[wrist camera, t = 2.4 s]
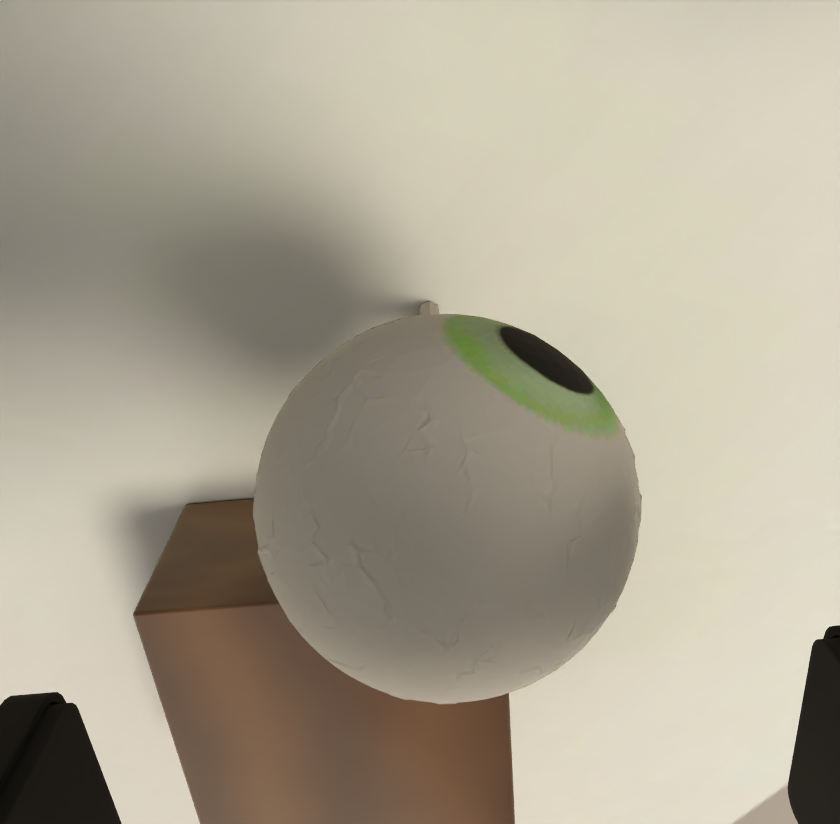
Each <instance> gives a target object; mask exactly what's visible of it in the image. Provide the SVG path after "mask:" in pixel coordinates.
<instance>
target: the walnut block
mask: <svg viewBox="0 0 840 824" xmlns="http://www.w3.org/2000/svg"><path fill="white" fill-rule="evenodd" d="M253 504H254V499H247V500H235V501H223V502H211V503H199V504H187V505H185V507H184V509H183V511H182V513H181V515H180V518H179V520H178V522H177V524H176V526H175V528H174V530H173V532H172V534H171V536H170V538H169V540H168V542H167V545H166V547H165V549H164V551H163V553H162V555H161V557H160V559H159V561H158V563H157V565H156V567H155V569H154V572H153V574H152V576H151V578H150V580H149V582H148V584H147V586H146V588H145V590H144V592H143V594H142V596H141V599H140V601H139V603H138V605H137V607H136V609H135V611H134V614H133V616H134V619H135V622H136V625H137V628H138V632H139V635H140V638H141V641H142V644H143V647H144V650H145V653H146V656H147V660H148V663H149V666H150V669H151V672H152V675H153V678H154V681H155V684H156V688H157V691H158V694H159V697H160V700H161V703H162V706H163V709H164V712H165V716H166V719H167V722H168V725H169V728H170V731H171V734H172V737H173V740H174V744H175V747H176V750H177V753H178V756H179V759H180V762H181V765H182V768H183V772H184V775H185V778H186V781H187V784H188V787H189V790H190V793H191V796H192V800H193V803H194V806H195V809H196V812H197V815H198V818H199V821H200V824H515V815H514V794H513V772H512V751H511V729H510V708H509V693H507V694H504V695H501V696H497V697H493V698H489V699H484V700H477V701H471V702H459V703H456V704H437V703H433V702H423V701H416V700H404V699H401V698H398V697H395V696H391V695H389V694H388V693H385V692H382V691H379V690H377V689H374V688H372V687H370V686H368V685H366V684H364V683H362V682H360V681H358V680H356V679H354V678H352V677H351V676H349V675H347V674H345V673H344V672H342V671H341V670H339V669H338V668H337V667H335V666H334V665H333V664H331V663H330V662H329V661H328V660H326V659H325V658H324V657H323V656H321V655H320V654H319V653H318V652H317V651H316V650H315V649H314V648H313V647H312V646H311V645H310V644H309V643H308V642H307V641H306V640H305V639H304V638H303V637H302V636H301V634H300V633H299V632H298V631H297V629H296V628H295V627H294V626H293V625H292V623H291V622H290V621H289V619H288V617H287V615H286V614H285V612H284V610H283V608H282V607H281V605H280V603H279V601H278V600H277V598H276V596H275V594H274V592H273V590H272V588H271V586H270V584H269V582H268V580H267V576H266V573H265V571H264V569H263V566H262V564H261V561H260V558H259V555H258V542H257V535H256V531H255V522H254V519H253Z"/></svg>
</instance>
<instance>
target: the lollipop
mask: <svg viewBox="0 0 840 824" xmlns="http://www.w3.org/2000/svg"><path fill="white" fill-rule="evenodd" d="M641 500H642V496H641V494H640V492H639V486H638V478H637V473H636V468H635V456H634V453H633V451H632V448H631V446H630V443H629V441H628V439H627V436H626V434H625V429H624V427H623V425H622V424H621V422H620V420H619V419H618V417H617V415H616V414H615V412H614V410H613V409H612V407H611V405H610V404H609V402H608V401H607V400H606V398H605V397H604V395H603V394H602V392H601V391H600V390H599V389H598V388H597V387H596V386H595V385H594V383H593V382H592V381H591V380H590V379H589V378H588V377H587V375H586V374H585V373H584V372H583V371H582V370H581V369H580V368H579V367H578V366H577V365H575V364H574V363H573V362H572V361H571V360H570V359H568V358H567V357H566V356H565V355H563V354H562V353H561V352H560V351H558V350H557V349H555V348H554V347H552V346H551V345H549V344H548V343H546V342H544V341H543V340H541V339H540V338H538V337H537V336H535V335H533V334H531V333H528V332H526V331H523V330H521V329H518V328H516V327H513V326H511V325H508V324H505V323H502V322H498V321H494V320H491V319H487V318H482V317H476V316H467V315H459V314H439V309H438V305H437V304H435V303H432V302H430V301H428V302H426V303H423V304H422V305H421V307H420V309H419V315H414V316H408V317H405V318H401V319H397V320H394V321H391V322H388V323H385V324H382V325H380V326H377V327H374V328H372V329H369V330H367V331H365V332H363V333H361V334H359V335H357V336H355V337H354V338H352V339H351V340H349V341H348V342H346V343H345V344H343V345H342V346H340V347H339V348H338V349H336V350H335V351H333V352H332V353H330V354H329V355H328V356H327V357H326V358H324V359H323V360H322V361H321V362H320V363H319V364H318V365H317V366H315V367H314V368H313V369H312V370H311V371H310V372H309V373H308V374H307V375H306V377H305V378H304V379H303V380H302V381H301V382H300V383H299V384H298V385H297V386H296V387H295V388H294V390H293V391H292V392H291V393H290V394H289V397H288V399H287V401H286V402H285V404H284V405H283V407H282V409H281V410H280V412H279V413H278V415H277V417H276V419H275V421H274V423H273V425H272V427H271V429H270V432H269V434H268V436H267V439H266V442H265V445H264V448H263V451H262V455H261V459H260V463H259V467H258V471H257V477H256V488H255V492H254V504H253V519H254V522H255V531H256V535H257V542H258V555H259V558H260V561H261V564H262V566H263V569H264V571H265V573H266V576H267V580H268V582H269V584H270V586H271V588H272V590H273V592H274V594H275V596H276V598H277V600H278V601H279V603H280V605H281V607H282V608H283V610H284V612H285V614H286V615H287V617H288V619H289V621H290V622H291V623H292V625H293V626H294V627H295V628H296V629H297V631H298V632H299V633H300V634H301V636H302V637H303V638H304V639H305V640H306V641H307V642H308V643H309V644H310V645H311V646H312V647H313V648H314V649H315V650H316V651H317V652H318V653H319V654H320V655H321V656H323V657H324V658H325V659H326V660H328V661H329V662H330V663H331V664H333V665H334V666H335V667H337V668H338V669H339V670H341V671H342V672H344V673H345V674H347V675H349V676H351V677H352V678H354V679H356V680H358V681H360V682H362V683H364V684H366V685H368V686H370V687H372V688H374V689H377V690H379V691H382V692H385V693H388V694H389V695H391V696H395V697H398V698H401V699H404V700H416V701H423V702H433V703H437V704H456V703H459V702H471V701H477V700H484V699H489V698H493V697H497V696H501V695H504V694H507V693H510V692H512V691H515V690H518V689H520V688H523V687H525V686H528V685H530V684H532V683H534V682H536V681H538V680H540V679H542V678H543V677H545V676H547V675H548V674H550V673H552V672H554V671H555V670H557V669H558V668H559V667H561V666H562V665H563V664H565V663H566V662H567V661H568V660H570V659H571V658H572V657H573V656H574V655H575V654H577V653H578V652H579V651H580V650H582V649H583V648H584V646H585V645H586V644H587V643H588V642H589V640H590V639H591V638H592V637H593V636H594V635H595V633H596V632H597V631H598V630H599V628H600V627H601V626H602V624H603V623H604V621H605V620H606V618H607V617H608V616H609V614H610V613H611V612H612V611H613V610H614V609H615V607H616V603H617V601H618V599H619V597H620V595H621V593H622V591H623V588H624V586H625V583H626V581H627V578H628V575H629V572H630V569H631V566H632V563H633V560H634V556H635V551H636V547H637V542H638V531H639V526H640V521H641Z"/></svg>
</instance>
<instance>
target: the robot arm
mask: <svg viewBox="0 0 840 824" xmlns="http://www.w3.org/2000/svg"><path fill="white" fill-rule="evenodd" d="M788 795H789V800H790V804H791V807H792V810H793V813H794V815H795V818H796V819H797V822H798V824H840V626H831V627H829V628H828V629H827V630H826V632H825V635H824V638H823V639H819V640H816V641H815V642H814V643H813V646H812V651H811V656H810V662H809V668H808V674H807V679H806V685H805V691H804V696H803V702H802V708H801V713H800V719H799V725H798V731H797V736H796V742H795V748H794V753H793V759H792V765H791V770H790V776H789V782H788ZM0 824H121V821H120V818H119V816H118V813H117V810H116V808H115V805H114V802H113V800H112V797H111V795H110V792H109V789H108V787H107V784H106V781H105V779H104V776H103V773H102V771H101V768H100V765H99V763H98V760H97V757H96V755H95V752H94V750H93V747H92V744H91V742H90V739H89V736H88V734H87V731H86V728H85V726H84V723H83V720H82V718H81V715H80V713H79V710H78V708H77V706H76V705H75V704H73V703H66V701H65V700H64V698H63V696H62V695H61V694H59V693H58V692H52V693H41V694H29V695H17V696H10V697H9V698H7V699H5V700H4V702H3V703H2V704H1V705H0Z"/></svg>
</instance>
